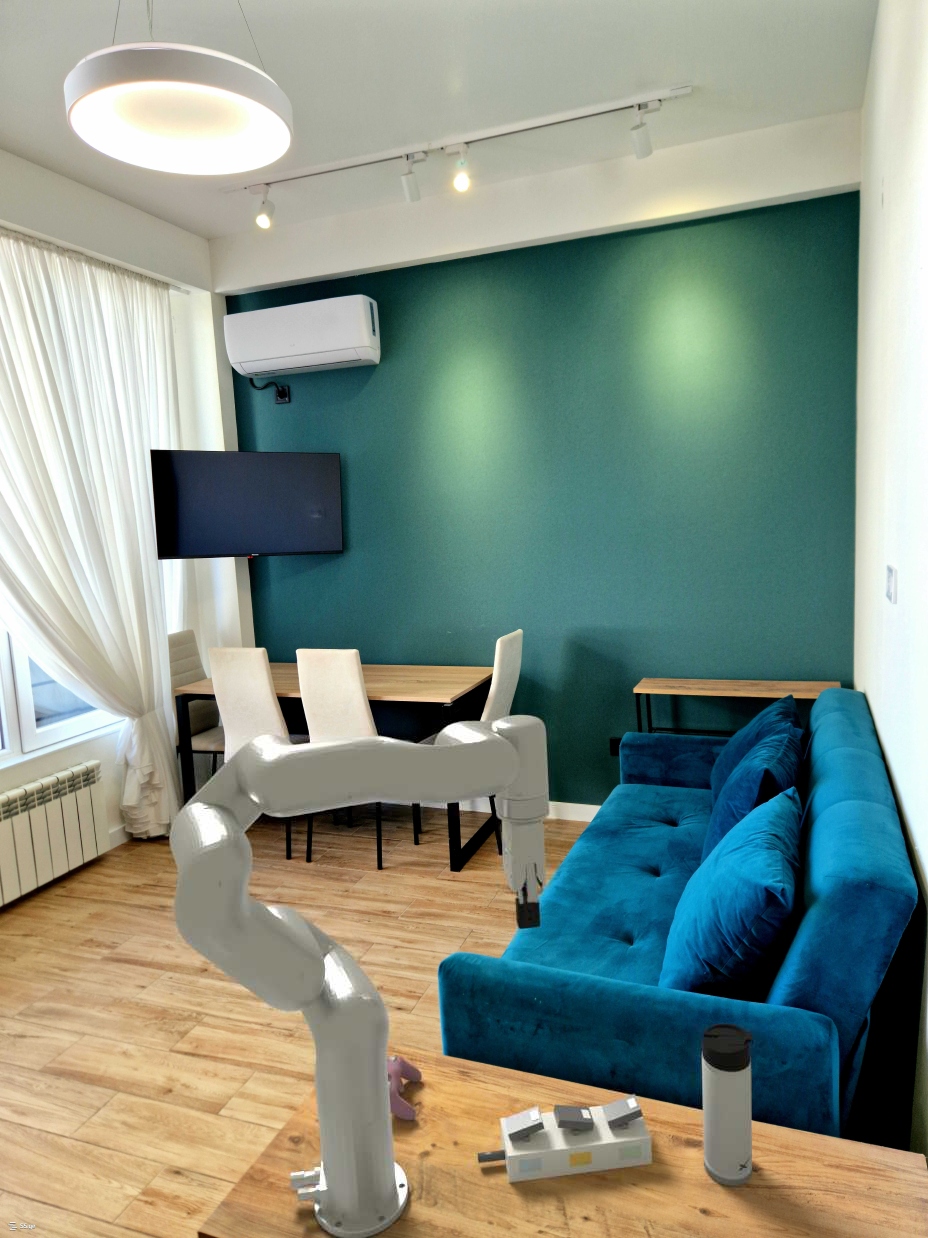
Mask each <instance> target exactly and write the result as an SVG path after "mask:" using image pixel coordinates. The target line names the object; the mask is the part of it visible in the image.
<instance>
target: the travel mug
mask: <svg viewBox="0 0 928 1238" xmlns="http://www.w3.org/2000/svg"><path fill="white" fill-rule="evenodd" d="M701 1042H702V1043H701V1049H702V1050H701V1068H702V1069H701V1073H702V1076H701V1079H702V1080H701V1082H702V1119H703V1120H702V1127H703V1128H702V1129H703V1130H702V1133H703V1166H704V1169H705V1171H706V1173H707V1174H708V1175H709V1177H710V1178H711V1179H713V1180H714V1181H715V1182H717V1183H719V1184H722V1185H724V1186H728V1187H740V1186H742V1185H743V1186H744V1185H745V1184H747V1182H749V1181H750V1180H751V1178H752V1175H753V1143H752V1142H753V1135H752V1133H753V1132H752V1131H753V1130H752V1124H753V1123H752V1065H751V1064H752V1060H751V1046H750V1044H751V1045H754V1037H753V1033H752V1031H750V1030H745V1028H743V1027H741V1026H740V1025H736V1024H732V1023H717V1024H713V1025H711V1026H709V1027H708V1028H706V1029H705V1030H704V1032H703V1035H702V1037H701Z"/></svg>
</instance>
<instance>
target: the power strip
mask: <svg viewBox="0 0 928 1238" xmlns="http://www.w3.org/2000/svg"><path fill="white" fill-rule="evenodd" d="M604 1105H605V1104H604ZM604 1105H598V1106H597V1105H596V1106H588V1107H589V1109H590V1112H591V1115H592V1118H593V1121H594V1126H593V1131H592V1130H579V1129H565V1128H558V1127H557V1123H556V1119H555V1116H554V1111H549V1112H540V1113H541V1117H542V1121H543V1124H544V1128H545V1129H543V1130H540V1131H538V1132H535V1133H532V1134H530V1135H527V1136H524V1137H522V1138H519V1139H517V1140H514V1141H510V1139H509V1136H508V1132H507V1127H506V1122H505V1118H506V1117H500V1118H499V1120H500V1135H501V1139H500V1140H501V1148H502V1149H499V1150H492V1151H491V1150H490V1151H483V1152H478V1153H476V1154H477V1162H478V1164H484V1163H490V1162H498V1161H499V1162H500V1161H504V1163H505V1169H506V1173H507V1178H508V1183H509V1184H510V1183H516V1182H517V1183H518V1182H524V1181H531V1180H538V1179H540V1180H541V1179H546V1178H554V1177H561V1176H563V1177H564V1176H569V1175H577V1174H578V1175H579V1174H585V1173H591V1172H593V1173H594V1172H599V1171H600V1172H601V1171H605V1170H606V1171H608V1170H615V1169H620V1168H621V1169H622V1168H623V1169H624V1168H632V1167H637V1166H645V1165H651V1164H653V1160H652V1159H653V1157H652V1156H653V1155H652V1154H653V1153H652V1136H651V1134H650V1131H649V1129H648V1127H647V1125H646V1123H645V1120H644V1118H643V1117H644V1116H643V1117H640V1118H638V1119H635V1120H632V1121H630V1122H627V1123H624V1124H622V1125H619V1126H616V1127H614V1128H611V1129H610V1128H609V1126H608V1123H607V1120H606V1118H605V1115H604V1112H603V1109H602V1106H604Z"/></svg>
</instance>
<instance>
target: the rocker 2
mask: <svg viewBox="0 0 928 1238" xmlns="http://www.w3.org/2000/svg"><path fill="white" fill-rule="evenodd" d="M601 1106H602V1109H603V1112H604V1115H605V1118H606V1120H607V1123H608V1126H609V1128H610V1129H611V1128H614V1127H616V1126H619V1125H622V1124H624V1123H627V1122H630V1121H632V1120H635V1119H638V1118H640V1117H644V1115H643V1112H642V1108H641V1106H640V1104H639V1102H638V1099H637V1097H636V1095H635V1093H633V1094H631V1095H627V1096H625V1097H623V1098H620V1099H618V1100H615V1101H611V1102H610V1103H607V1104H604V1106H603V1105H601Z"/></svg>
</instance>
